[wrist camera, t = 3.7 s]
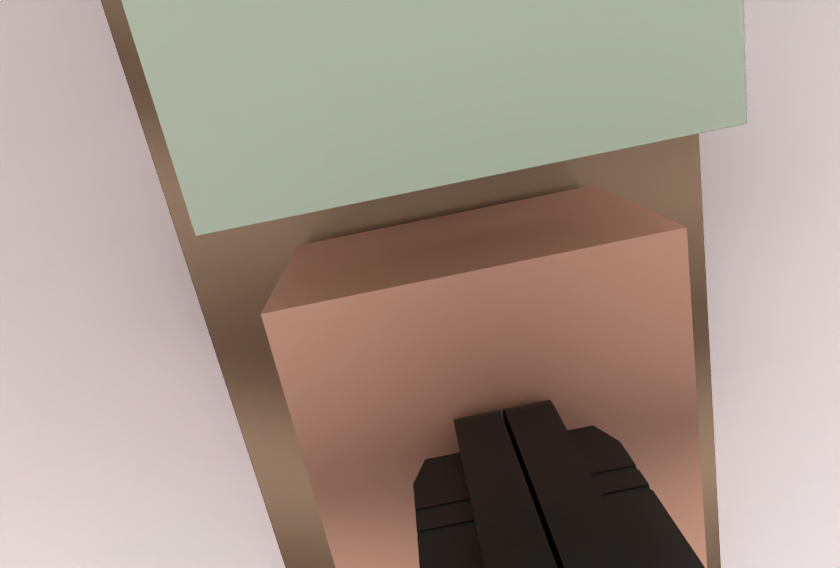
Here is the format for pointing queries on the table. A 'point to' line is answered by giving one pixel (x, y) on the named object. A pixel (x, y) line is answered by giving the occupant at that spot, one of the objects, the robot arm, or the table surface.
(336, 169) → the button sage
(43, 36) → the table surface
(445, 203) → the board
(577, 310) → the button terracotta
